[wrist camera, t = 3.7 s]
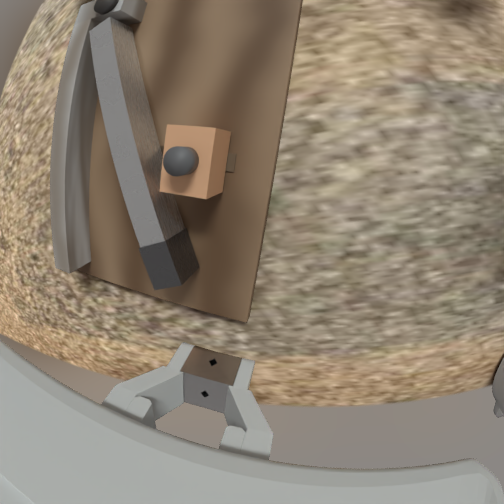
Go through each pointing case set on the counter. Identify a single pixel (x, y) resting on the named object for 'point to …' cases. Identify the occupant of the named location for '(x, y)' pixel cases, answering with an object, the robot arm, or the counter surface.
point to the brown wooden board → (164, 112)
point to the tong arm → (139, 157)
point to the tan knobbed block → (194, 160)
